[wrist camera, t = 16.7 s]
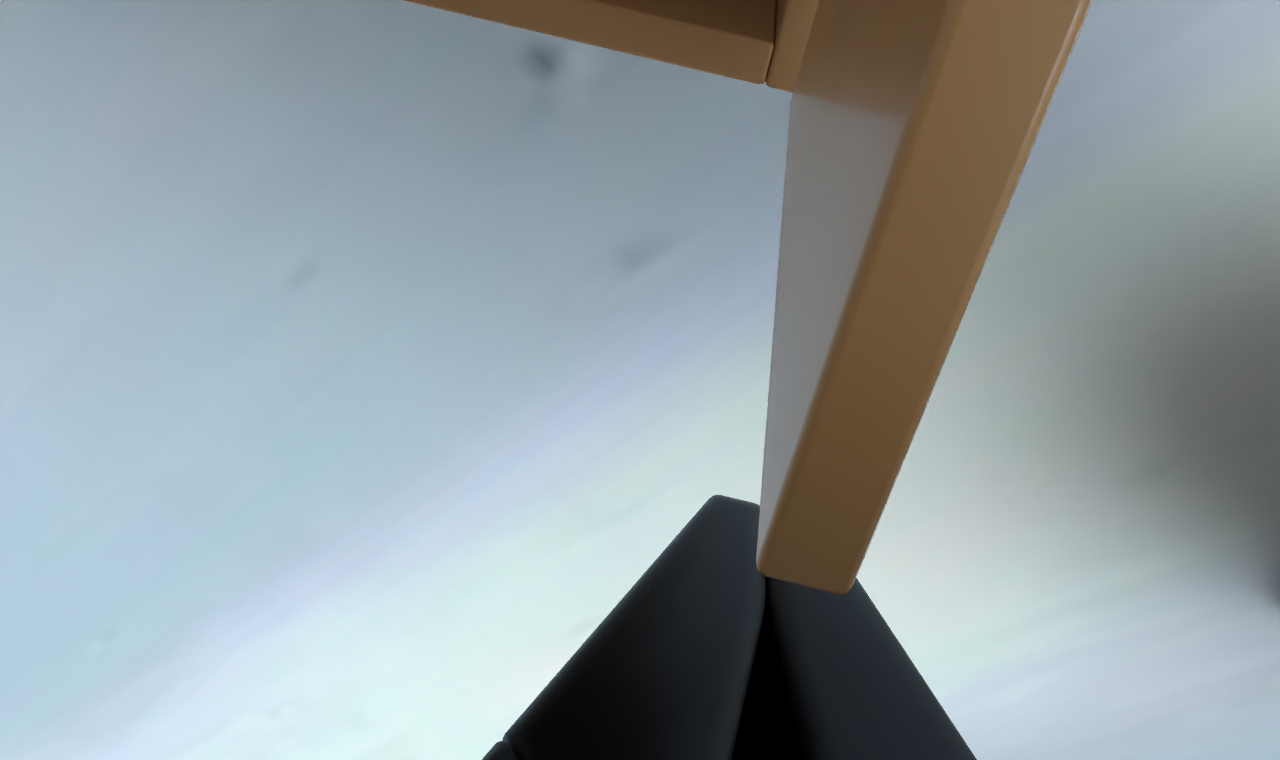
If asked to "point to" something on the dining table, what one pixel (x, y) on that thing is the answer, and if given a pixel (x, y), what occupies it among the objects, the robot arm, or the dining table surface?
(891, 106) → the flap
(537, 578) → the dining table surface
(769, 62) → the carton
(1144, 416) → the dining table surface
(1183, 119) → the dining table surface
